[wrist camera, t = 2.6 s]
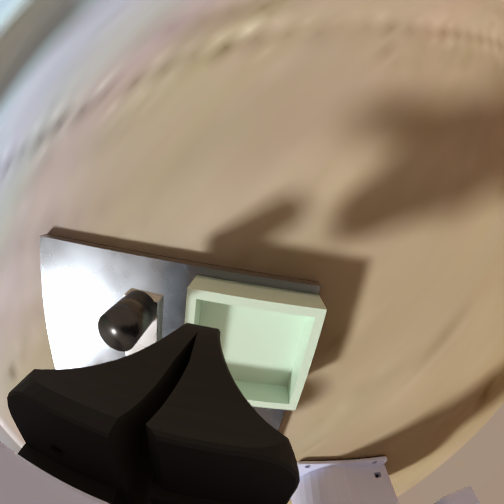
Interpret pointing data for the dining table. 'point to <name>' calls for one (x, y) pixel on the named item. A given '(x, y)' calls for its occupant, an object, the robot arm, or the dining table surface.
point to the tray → (260, 335)
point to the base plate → (115, 286)
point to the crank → (133, 321)
